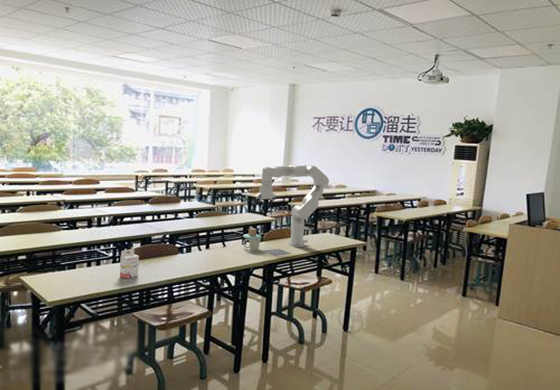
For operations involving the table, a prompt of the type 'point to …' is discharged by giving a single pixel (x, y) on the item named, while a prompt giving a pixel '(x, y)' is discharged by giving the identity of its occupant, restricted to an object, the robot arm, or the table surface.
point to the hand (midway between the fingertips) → (265, 206)
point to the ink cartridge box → (129, 264)
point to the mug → (253, 243)
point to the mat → (276, 252)
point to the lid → (252, 234)
